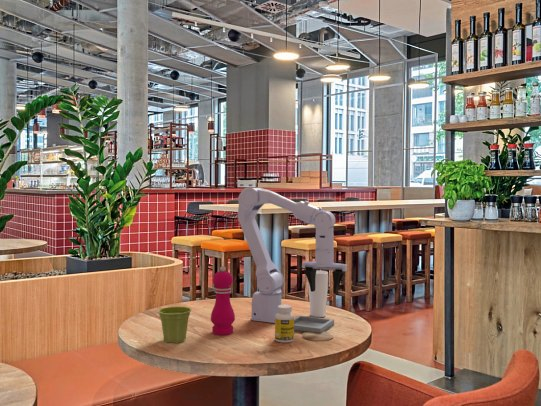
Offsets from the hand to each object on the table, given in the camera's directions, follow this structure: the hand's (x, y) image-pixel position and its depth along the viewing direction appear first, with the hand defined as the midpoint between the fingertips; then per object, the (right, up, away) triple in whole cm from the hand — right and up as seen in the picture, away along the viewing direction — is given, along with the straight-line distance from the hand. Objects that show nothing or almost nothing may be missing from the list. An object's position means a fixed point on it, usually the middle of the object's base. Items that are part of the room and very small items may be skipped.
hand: (324, 292), depth 167 cm
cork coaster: (-3, -11, -13) cm, 17 cm away
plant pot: (-44, -11, -17) cm, 49 cm away
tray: (-5, -11, -3) cm, 12 cm away
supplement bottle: (-13, -11, -17) cm, 24 cm away
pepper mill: (-31, -11, -9) cm, 34 cm away
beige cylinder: (-1, -10, +12) cm, 16 cm away
